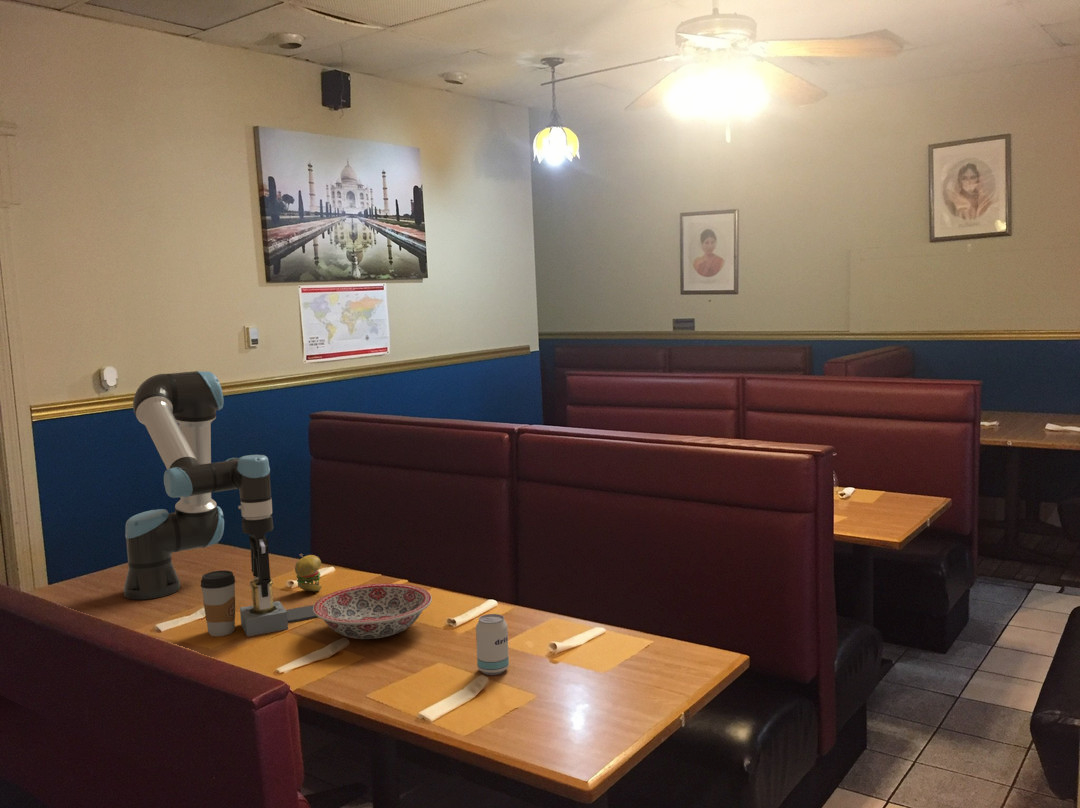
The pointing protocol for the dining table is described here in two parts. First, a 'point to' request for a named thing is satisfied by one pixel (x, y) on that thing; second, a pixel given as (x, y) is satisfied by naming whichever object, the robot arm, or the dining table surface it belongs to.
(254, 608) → the gold round-topped cylinder
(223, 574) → the coffee cup
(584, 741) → the dining table surface
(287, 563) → the dining table surface
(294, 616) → the rubber mat
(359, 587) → the ceramic bowl
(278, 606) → the housing
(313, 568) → the hamburger
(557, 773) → the dining table surface
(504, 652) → the beverage can
